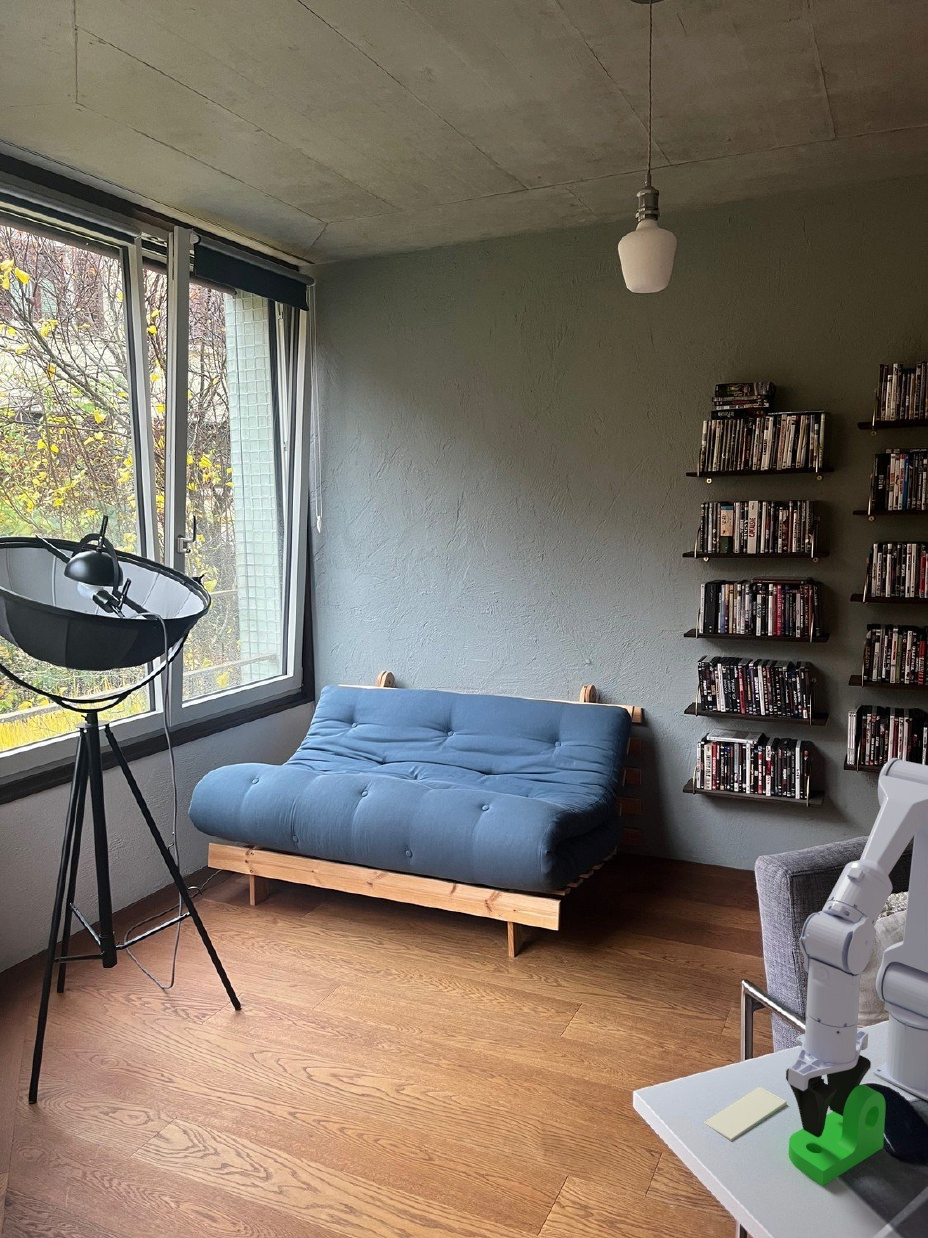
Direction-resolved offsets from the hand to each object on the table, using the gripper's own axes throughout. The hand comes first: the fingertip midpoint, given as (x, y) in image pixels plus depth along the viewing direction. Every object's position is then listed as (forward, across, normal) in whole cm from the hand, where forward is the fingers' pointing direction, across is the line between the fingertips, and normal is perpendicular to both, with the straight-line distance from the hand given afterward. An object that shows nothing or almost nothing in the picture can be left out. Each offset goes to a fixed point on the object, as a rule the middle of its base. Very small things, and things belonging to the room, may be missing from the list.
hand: (825, 1122), depth 113 cm
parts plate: (+3, +3, -9) cm, 10 cm away
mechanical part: (+3, 0, +1) cm, 4 cm away
